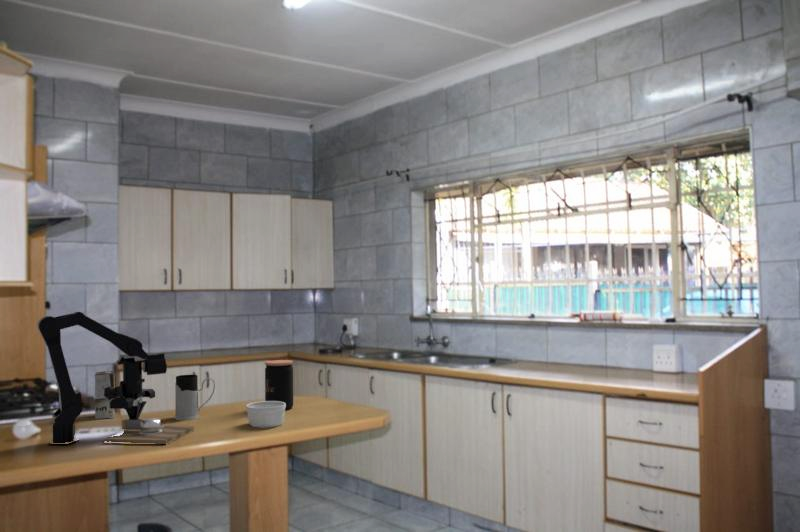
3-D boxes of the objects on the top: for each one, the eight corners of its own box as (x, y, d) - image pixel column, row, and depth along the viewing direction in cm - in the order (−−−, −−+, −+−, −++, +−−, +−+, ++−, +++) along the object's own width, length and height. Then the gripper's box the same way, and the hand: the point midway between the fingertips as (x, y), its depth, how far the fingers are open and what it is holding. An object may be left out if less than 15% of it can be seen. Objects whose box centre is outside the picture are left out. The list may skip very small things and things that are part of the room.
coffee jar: (263, 407, 267) (263, 360, 267) (291, 405, 270) (290, 359, 270) (266, 412, 256) (266, 363, 257) (295, 410, 260) (295, 362, 260)
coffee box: (114, 418, 249) (113, 373, 249) (94, 419, 246) (94, 374, 247) (114, 413, 257) (114, 370, 257) (96, 414, 255) (96, 371, 255)
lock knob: (164, 428, 220) (164, 418, 220) (153, 432, 214) (153, 422, 214) (129, 427, 223) (129, 417, 223) (118, 431, 217) (117, 421, 217)
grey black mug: (173, 416, 250) (172, 375, 250) (213, 413, 255) (212, 372, 256) (175, 421, 242) (175, 378, 242) (216, 417, 247) (216, 375, 247)
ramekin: (255, 430, 226) (254, 409, 226) (240, 423, 237) (240, 403, 237) (292, 425, 233) (292, 404, 233) (276, 419, 244) (276, 399, 244)
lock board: (165, 445, 207) (165, 439, 207) (103, 443, 209) (103, 438, 209) (194, 430, 226) (194, 425, 226) (136, 429, 229) (136, 424, 229)
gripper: (124, 372, 232) (125, 418, 232) (92, 382, 213) (94, 432, 213) (155, 372, 230) (156, 418, 231) (126, 381, 212) (127, 432, 212)
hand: (133, 425), depth 222 cm, fingers closed
